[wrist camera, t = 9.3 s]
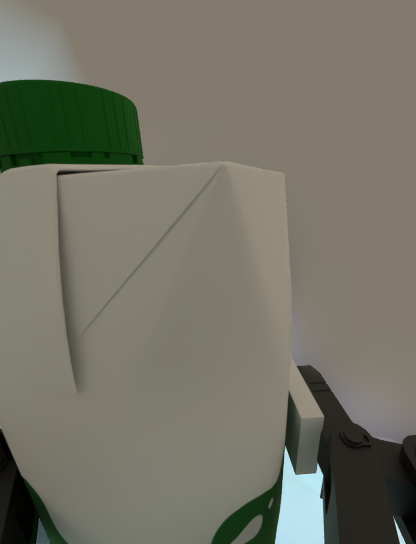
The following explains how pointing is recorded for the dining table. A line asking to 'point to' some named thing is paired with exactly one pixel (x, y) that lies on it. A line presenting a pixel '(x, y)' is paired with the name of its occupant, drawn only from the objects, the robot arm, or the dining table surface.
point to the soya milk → (139, 328)
